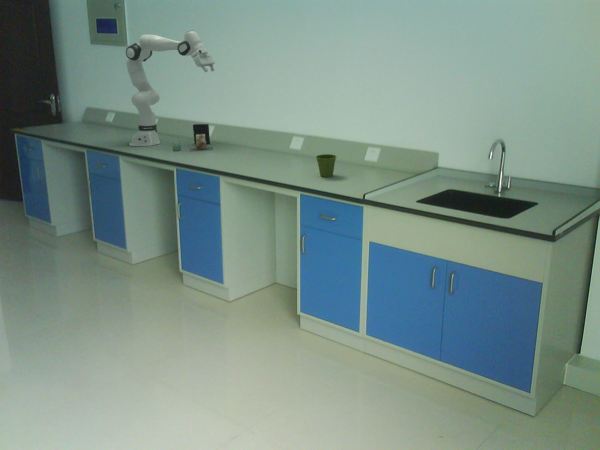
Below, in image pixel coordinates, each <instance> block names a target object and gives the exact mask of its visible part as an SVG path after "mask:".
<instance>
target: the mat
mask: <svg viewBox="0 0 600 450" xmlns="http://www.w3.org/2000/svg"><path fill="white" fill-rule="evenodd" d="M213 150H214V146H207V150H196V147H190V149H189V152H204V151H205V152H206V151H213Z"/></svg>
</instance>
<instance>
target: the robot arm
mask: <svg viewBox="0 0 600 450" xmlns="http://www.w3.org/2000/svg"><path fill="white" fill-rule="evenodd" d="M138 40H139V41H138V43H137V42H134V43H133V44H131V45H129V46H128V47H126V49H125V56H126V57H127V59H126V62H125V64H126V68H127V72H128V76H129V78H130V80H131V84H132V86H133V87H134V88H136V89H137V90H138V92H135V93H134V94H132V96H131V103H132V105H133V106H134V107H135V108H136V109H137V111H138V114H139V119H140V121H139V122H140V124H139V125H138V126H137V128H138V130H137V131H136V133H134V134H133V135H132V136H131V142H129V143H128V144H129V145H130V147H151V146H154V145H159V144H160V143H161V141H160V138H159V135H158V126H157V125H158V124H157V121H156V113H155V112H153V111H152V108H151V106H153V105H155V104H157V103H159V100H160V94H159V92H158V91H157V90H155V89H154V88H153V86H152V85H151V84H150V82H149V80H148V78H147V75H146V73H145V70H144V66H143V62H146V61H147V60H148V59H150V58H151V56H152V55H153V52H167V51H168V52H169V51H177V52H178V53H179V55H181V56H185V57H187V56H190V57H191V58H192V59H193V62H194V64H195V65H196V67H198V68H201V69H202V70H203V72H204V73H207V72H208V71H209V70H208V69H207V67H209V68H210V71H211V72H214V71H215V67H214V65H215V63H216V61H215V60H214V59H213V56H212V55H211V54H210V53H209V52H208V51H207V49H206V47H205V45H204V44H203V43H202V42H203V41H202V39H201V37H200V35H199V34H198V33H197V31H196V30H189V31H186V32H185V33H184V36H183V39H181V40H173V39H172V38H171V39H170V38H167V37H164V36H160V35H156V34H150V33H149V34H142V35H141V36H140V37H139V39H138Z"/></svg>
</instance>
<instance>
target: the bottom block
mask: <svg viewBox="0 0 600 450" xmlns="http://www.w3.org/2000/svg"><path fill="white" fill-rule="evenodd" d="M207 147H208V146H207V144H206V141H205V143H197V142H196V145H195V148H196V150H207Z"/></svg>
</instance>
